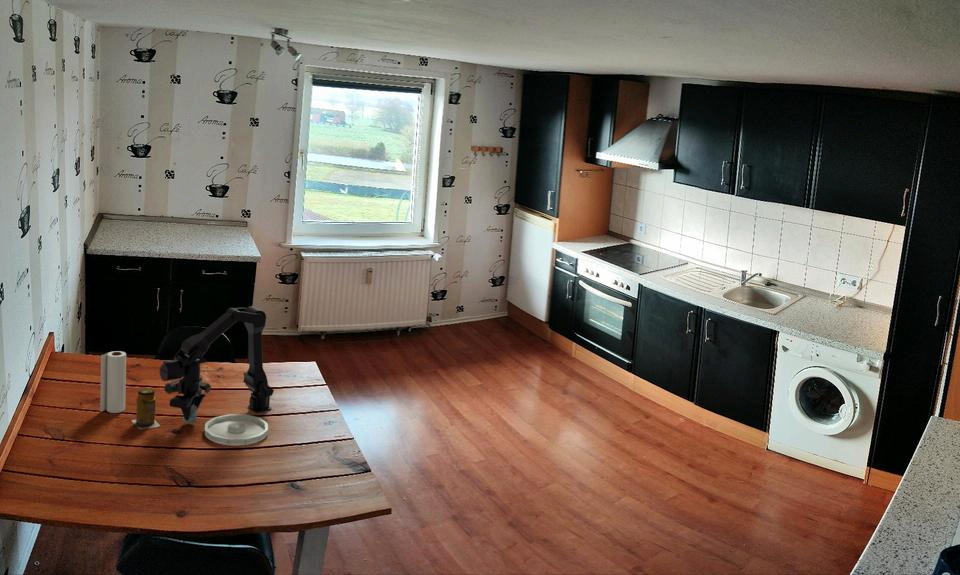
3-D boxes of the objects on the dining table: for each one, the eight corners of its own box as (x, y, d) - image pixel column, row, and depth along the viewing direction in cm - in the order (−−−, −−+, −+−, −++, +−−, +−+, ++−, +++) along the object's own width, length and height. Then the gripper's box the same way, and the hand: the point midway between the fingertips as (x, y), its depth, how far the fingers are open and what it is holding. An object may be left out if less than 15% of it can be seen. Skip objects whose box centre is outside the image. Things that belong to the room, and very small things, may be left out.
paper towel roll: (127, 407, 299) (128, 351, 294) (121, 414, 293) (122, 357, 288) (107, 405, 298) (108, 349, 293) (100, 412, 293) (100, 354, 287)
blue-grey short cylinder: (192, 416, 294) (193, 403, 293) (198, 421, 291) (199, 408, 290) (180, 419, 291) (181, 406, 290) (186, 424, 288) (187, 410, 287)
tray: (246, 415, 304) (247, 410, 304) (279, 436, 291) (279, 430, 290) (193, 428, 289) (193, 422, 288) (224, 450, 275) (225, 444, 275)
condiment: (152, 417, 294) (153, 385, 291) (160, 426, 287) (161, 394, 284) (131, 420, 289) (131, 388, 286) (138, 430, 283) (139, 397, 280)
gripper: (182, 363, 297) (181, 404, 301) (155, 380, 279) (154, 423, 283) (212, 368, 296) (210, 409, 300) (186, 386, 278) (185, 429, 282)
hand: (189, 417), depth 291 cm, fingers closed on blue-grey short cylinder, 4 cm apart
